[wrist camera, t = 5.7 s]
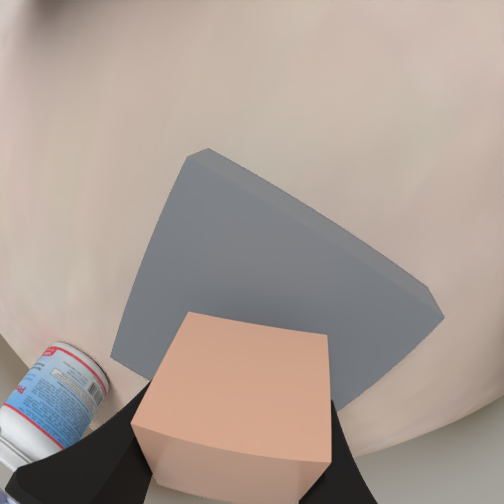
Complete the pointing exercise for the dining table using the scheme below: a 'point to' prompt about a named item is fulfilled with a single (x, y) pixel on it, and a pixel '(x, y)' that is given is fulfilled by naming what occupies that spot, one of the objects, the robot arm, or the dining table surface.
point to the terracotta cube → (238, 412)
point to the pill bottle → (50, 406)
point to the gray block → (270, 277)
